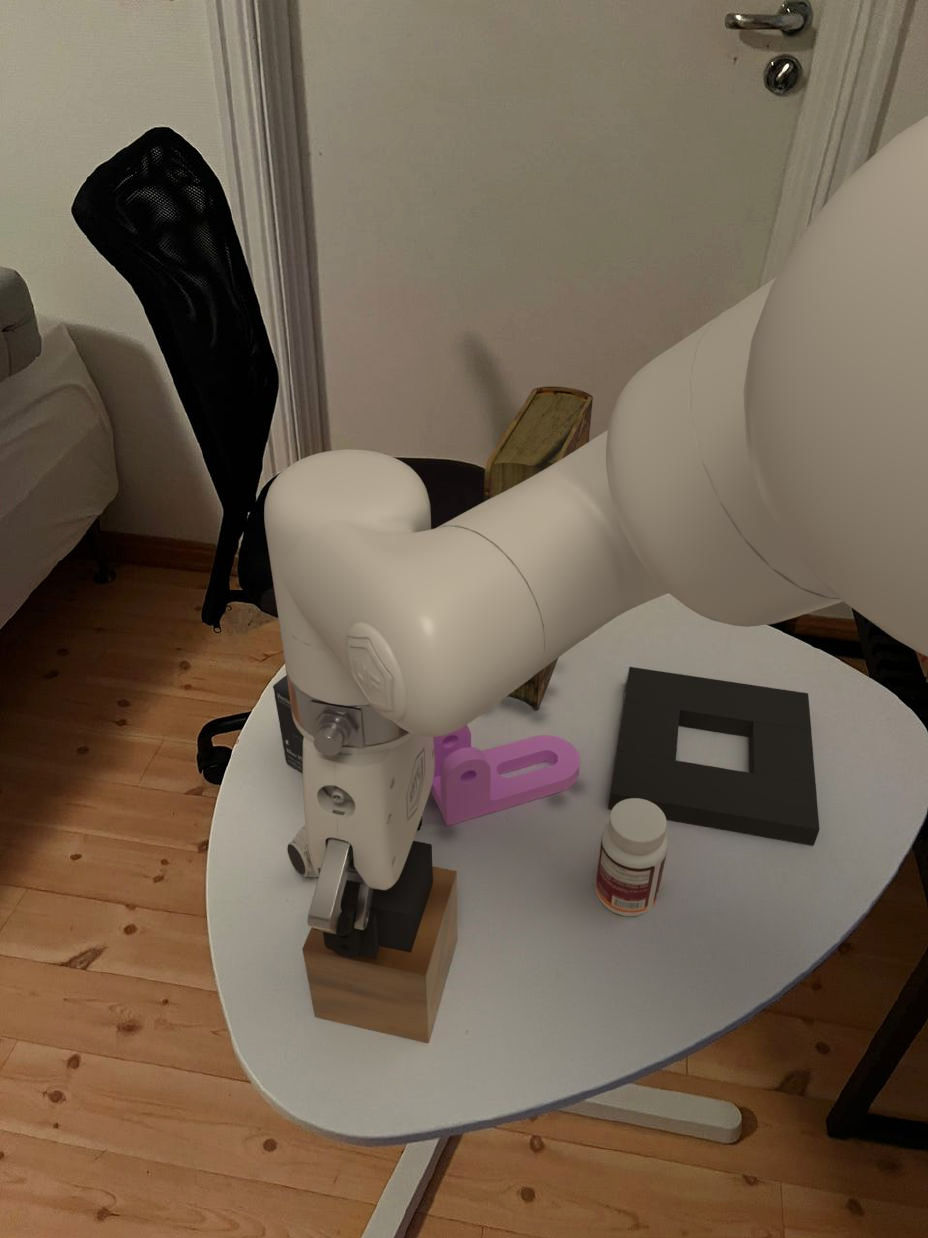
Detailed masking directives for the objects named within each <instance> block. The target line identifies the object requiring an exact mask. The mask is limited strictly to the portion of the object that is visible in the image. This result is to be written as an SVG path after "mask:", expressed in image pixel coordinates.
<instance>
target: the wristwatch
mask: <svg viewBox="0 0 928 1238" xmlns="http://www.w3.org/2000/svg"><path fill="white" fill-rule="evenodd" d="M286 847H287V849H286V850H287V851H286V852H287V855H288V858H289V861H290V863H291V864H292V866H293V868H294V869H295V870H296V872H297V874H299V875H301V876H303V877H305V878H317V877H319V875H318V874H317V873H316V871H315V870H314V868H313V865H312V863H309V860H308V857H307V852H308V849H307V848H308V843H307V835H306V826H305V824H303V826H302V827H301V828H300V829H299V830H298V831H297V833H296V835H295V837H292V839H291V841H290V842H288V844H287V846H286Z"/></svg>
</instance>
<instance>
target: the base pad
mask: <svg viewBox="0 0 928 1238" xmlns="http://www.w3.org/2000/svg"><path fill="white" fill-rule="evenodd" d="M809 696H810V695H809V692H801V691H795V690H788V689H781V688H775V687H768V686H761V685H755V684H749V683H742V682H736V681H730V680H729V681H728V680H721V679H716V678H708V677H702V676H695V675H688V674H683V673H674V672H669V671H668V672H667V671H662V670H656V669H655V670H654V669H649V668H641V667H634V666H629V667H628V674H627V679H626V688H625V694H624V699H623V700H624V701H623V708H622V713H621V720H620V727H619V734H618V741H617V748H616V754H615V760H614V768H613V775H612V781H611V788H610V795H609V801H608V807H607V808H608V810H610V811H612V809H613V807H614V806H615V805H616V804H617V803H619V802H620V801H622V800H625V799H630V798H640V799H644V800H647V801H650V802H652V803H654V804H655V805H657V806H658V807H659V808H660V809H661V810H662V812H663V813H664V815H665V817H666V821H672V822H677V823H683V824H689V825H695V826H698V827H699V826H701V827H705V828H710V829H717V830H721V831H722V830H723V831H728V832H734V833H740V834H746V835H751V836H756V837H762V838H768V839H773V840H780V841H785V842H790V843H796V844H802V845H805V846H806V845H807V846H812V847H813V846H815V844H816V840H817V838H818V835H819V832H820V819H819V810H818V809H819V808H818V807H819V806H818V795H817V783H816V774H815V773H816V772H815V770H816V769H815V761H814V759H815V758H814V747H813V735H812V723H811V711H810V709H811V708H810V698H809ZM680 727H684V728H691V729H696V730H702V731H709V732H714V733H722V734H727V735H734V736H740V737H746V738H748V771H743V770H736V769H730V768H724V767H718V766H712V765H706V764H702V763H701V764H700V763H695V762H687V761H682V760H677V752H678V741H679V740H678V738H679V728H680Z"/></svg>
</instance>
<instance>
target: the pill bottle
mask: <svg viewBox="0 0 928 1238" xmlns="http://www.w3.org/2000/svg"><path fill="white" fill-rule="evenodd" d="M608 819H609V820H608V822H607V823H606V825H605V826H604V828H603V830H602V833H601V837H600V848H599V855H598V863H597V870H596V879H595V891H596V895H597V897H598V899H599V901H600V902H601V904H602V905H603V906H604V907H605V908H607V909H608V910H609V911H610V912H612V913H614V914H617V915H619V916H623V917H624V916H625V917H637V916H641V915H644V914H646V913H647V912H649V911H651V910H652V908H653V907H654V906H655V905H656V903H657V901H658V896H659V892H660V888H661V883H662V877H663V874H664V873H663V872H664V868H665V863H666V859H667V854H668V849H669V848H668V847H669V846H668V845H669V843H668V838H667V836H666V834H667V833H666V832H667V827H668V825H667V824H668V820H666V817H665V815H664V813H663V812H662V810H661V809H660V808H659V807H658V806H657V805H655V804H654V803H652V802H650V801H647V800H644V799H640V798H630V799H625V800H622V801H620V802H619V803H617V804H616V805H615V806H614V807H613V809H612V810H610V813H609V818H608Z"/></svg>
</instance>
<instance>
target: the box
mask: <svg viewBox="0 0 928 1238" xmlns="http://www.w3.org/2000/svg"><path fill="white" fill-rule="evenodd" d="M272 688H273V693H274V700H275V701H274V702H275V706H276V711H277V718H278V723H279V730H280V734H281V735H280V736H281V741H282V747H283V751H284V759H285V763H286V764H287V765H289V766H291V767H292V768H294V769H295V770H297V771H299V772H301V773H302V774H303V739H304V736H303V735H302V734H301V732H300V731H299V730H298V729H297V727H296V725H295V723H294V721H293V716H292V711H291V703H290V696H289V689H288V682H287V675H284V676H283V677H282V678H281V679H279V680H278V681H277V682H276V683H274V684H273V686H272Z"/></svg>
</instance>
